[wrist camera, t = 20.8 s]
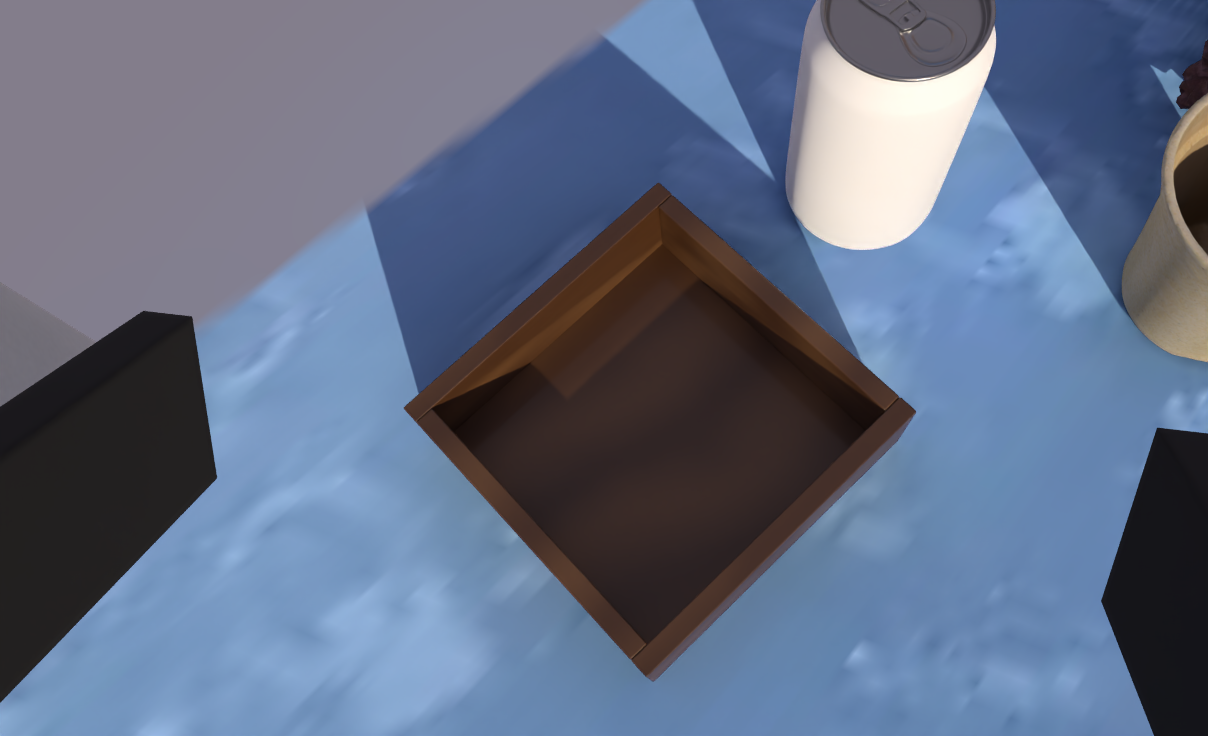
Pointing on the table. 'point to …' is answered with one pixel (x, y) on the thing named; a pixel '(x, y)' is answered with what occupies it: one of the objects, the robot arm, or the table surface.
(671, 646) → the wooden box
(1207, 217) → the flower pot
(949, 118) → the can
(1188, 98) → the pine cone
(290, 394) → the table surface
